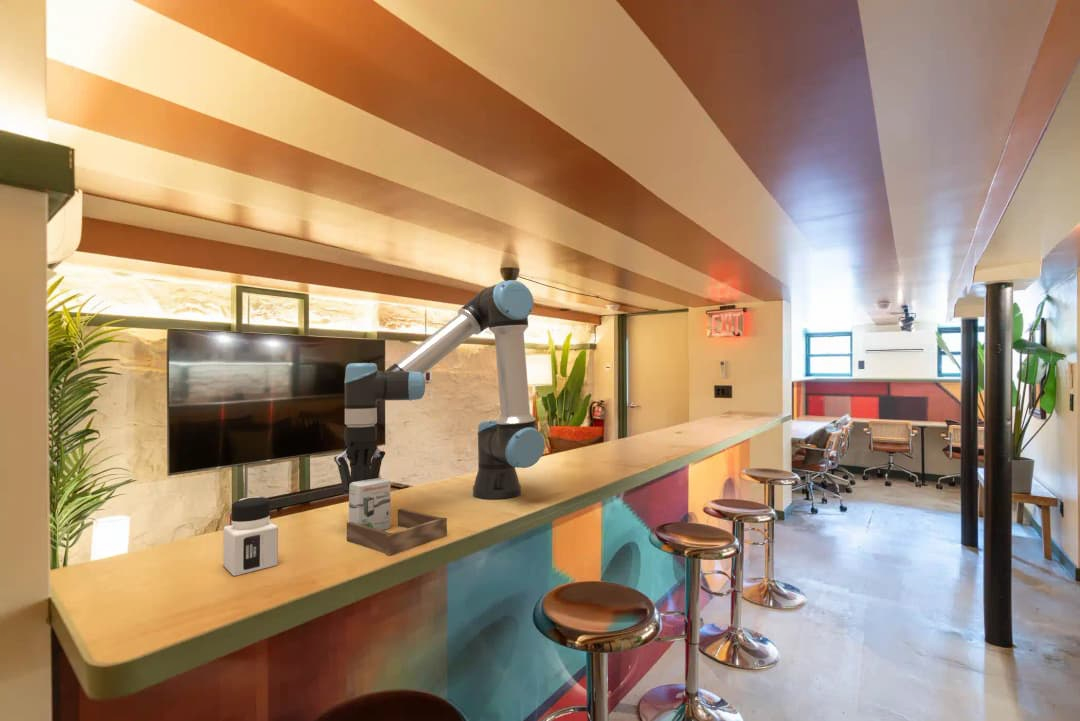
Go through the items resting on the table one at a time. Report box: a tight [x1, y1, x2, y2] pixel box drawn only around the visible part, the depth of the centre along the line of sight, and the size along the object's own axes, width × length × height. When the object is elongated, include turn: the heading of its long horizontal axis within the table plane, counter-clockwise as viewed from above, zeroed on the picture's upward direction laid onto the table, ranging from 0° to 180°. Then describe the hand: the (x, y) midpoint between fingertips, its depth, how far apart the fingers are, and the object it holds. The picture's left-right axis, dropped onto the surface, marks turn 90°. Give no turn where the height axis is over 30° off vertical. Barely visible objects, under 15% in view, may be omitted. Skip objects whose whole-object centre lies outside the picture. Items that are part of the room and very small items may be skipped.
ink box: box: [348, 477, 392, 531], centre depth 118 cm, size 9×5×12 cm, turn 141°
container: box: [222, 496, 279, 577], centre depth 97 cm, size 8×8×13 cm
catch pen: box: [346, 508, 448, 557], centre depth 112 cm, size 16×16×4 cm
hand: (360, 521), depth 121 cm, fingers closed
